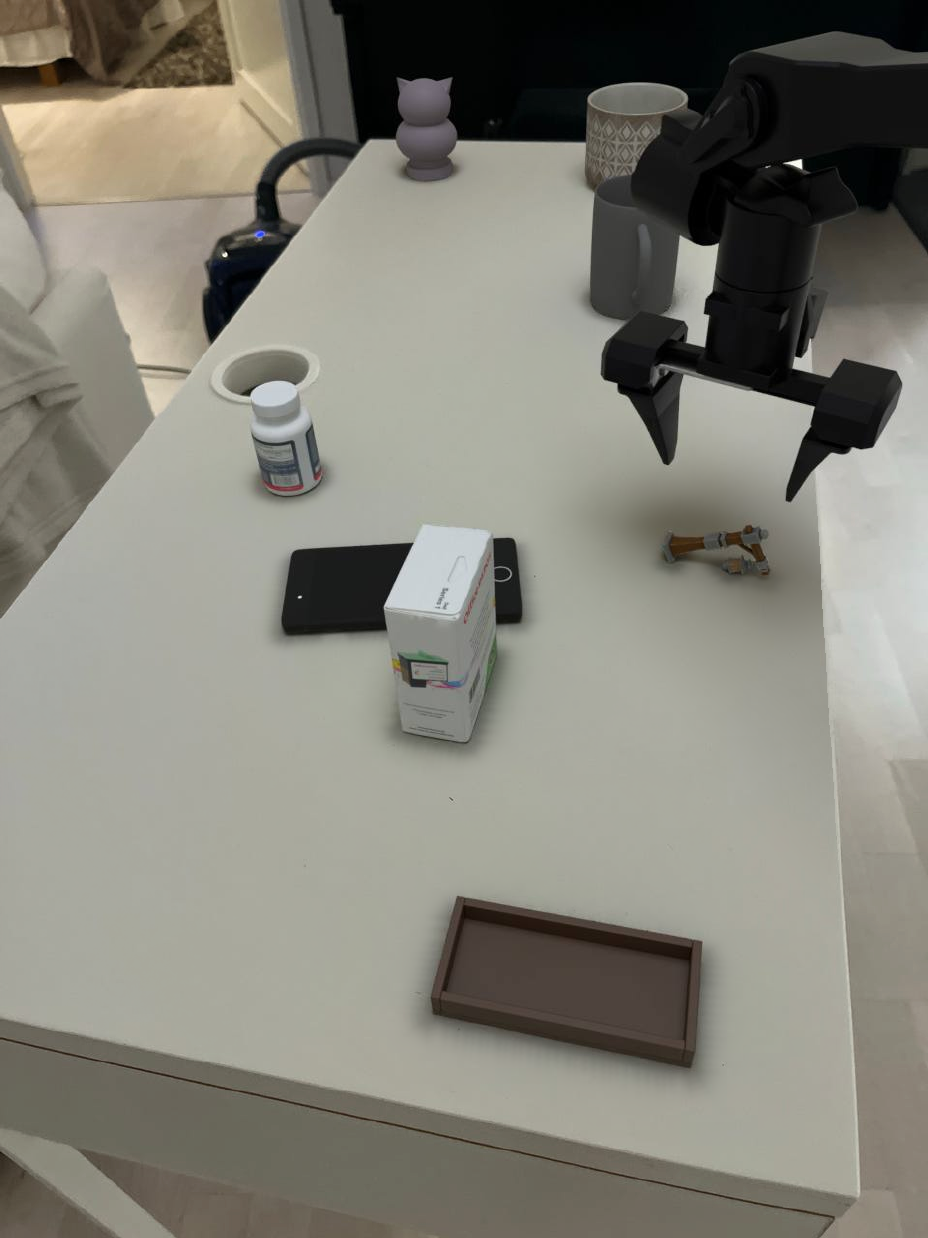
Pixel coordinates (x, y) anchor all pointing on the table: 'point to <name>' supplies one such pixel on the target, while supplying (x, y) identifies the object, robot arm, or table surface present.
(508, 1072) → the table surface
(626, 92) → the planter
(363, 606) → the cell phone
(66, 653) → the table surface
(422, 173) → the cat figurine
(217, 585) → the table surface
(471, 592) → the ink box
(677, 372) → the robot arm
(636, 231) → the mug
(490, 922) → the walnut tray
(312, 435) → the pill bottle
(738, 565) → the wooden post with brackets
